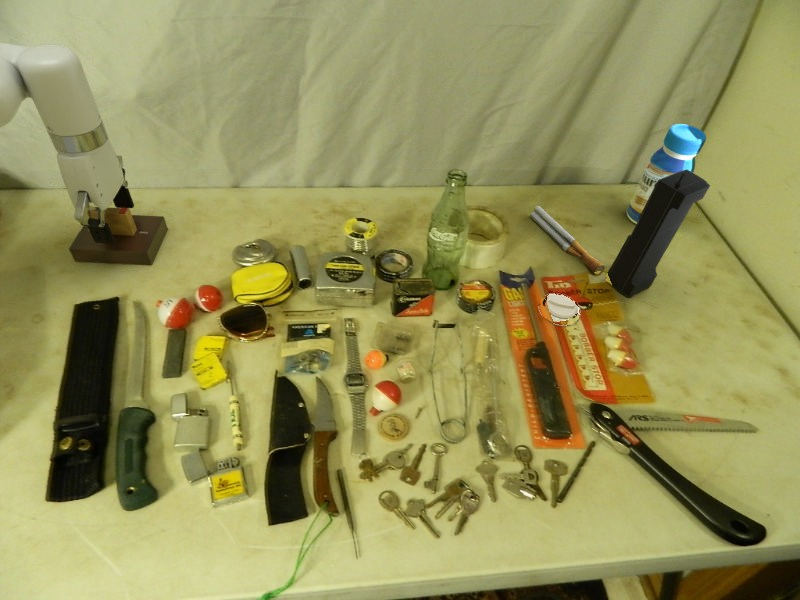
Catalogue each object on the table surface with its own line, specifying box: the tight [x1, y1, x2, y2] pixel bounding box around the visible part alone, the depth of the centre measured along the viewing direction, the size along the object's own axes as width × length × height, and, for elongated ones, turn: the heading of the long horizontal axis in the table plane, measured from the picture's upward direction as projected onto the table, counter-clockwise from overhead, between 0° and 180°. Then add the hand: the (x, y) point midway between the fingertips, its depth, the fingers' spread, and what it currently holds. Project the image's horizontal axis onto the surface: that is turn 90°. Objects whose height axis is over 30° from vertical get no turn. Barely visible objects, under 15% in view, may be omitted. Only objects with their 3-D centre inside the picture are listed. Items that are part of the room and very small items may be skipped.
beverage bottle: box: [626, 123, 707, 225], centre depth 106 cm, size 8×8×20 cm
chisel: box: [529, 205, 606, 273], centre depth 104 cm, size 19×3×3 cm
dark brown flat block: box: [68, 214, 169, 266], centre depth 95 cm, size 13×10×3 cm
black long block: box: [606, 169, 711, 298], centre depth 90 cm, size 8×6×25 cm
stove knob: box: [537, 293, 581, 327], centre depth 92 cm, size 7×7×2 cm
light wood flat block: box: [91, 207, 137, 236], centre depth 92 cm, size 6×2×5 cm, turn 91°
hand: (115, 224), depth 92 cm, fingers open, 9 cm apart
